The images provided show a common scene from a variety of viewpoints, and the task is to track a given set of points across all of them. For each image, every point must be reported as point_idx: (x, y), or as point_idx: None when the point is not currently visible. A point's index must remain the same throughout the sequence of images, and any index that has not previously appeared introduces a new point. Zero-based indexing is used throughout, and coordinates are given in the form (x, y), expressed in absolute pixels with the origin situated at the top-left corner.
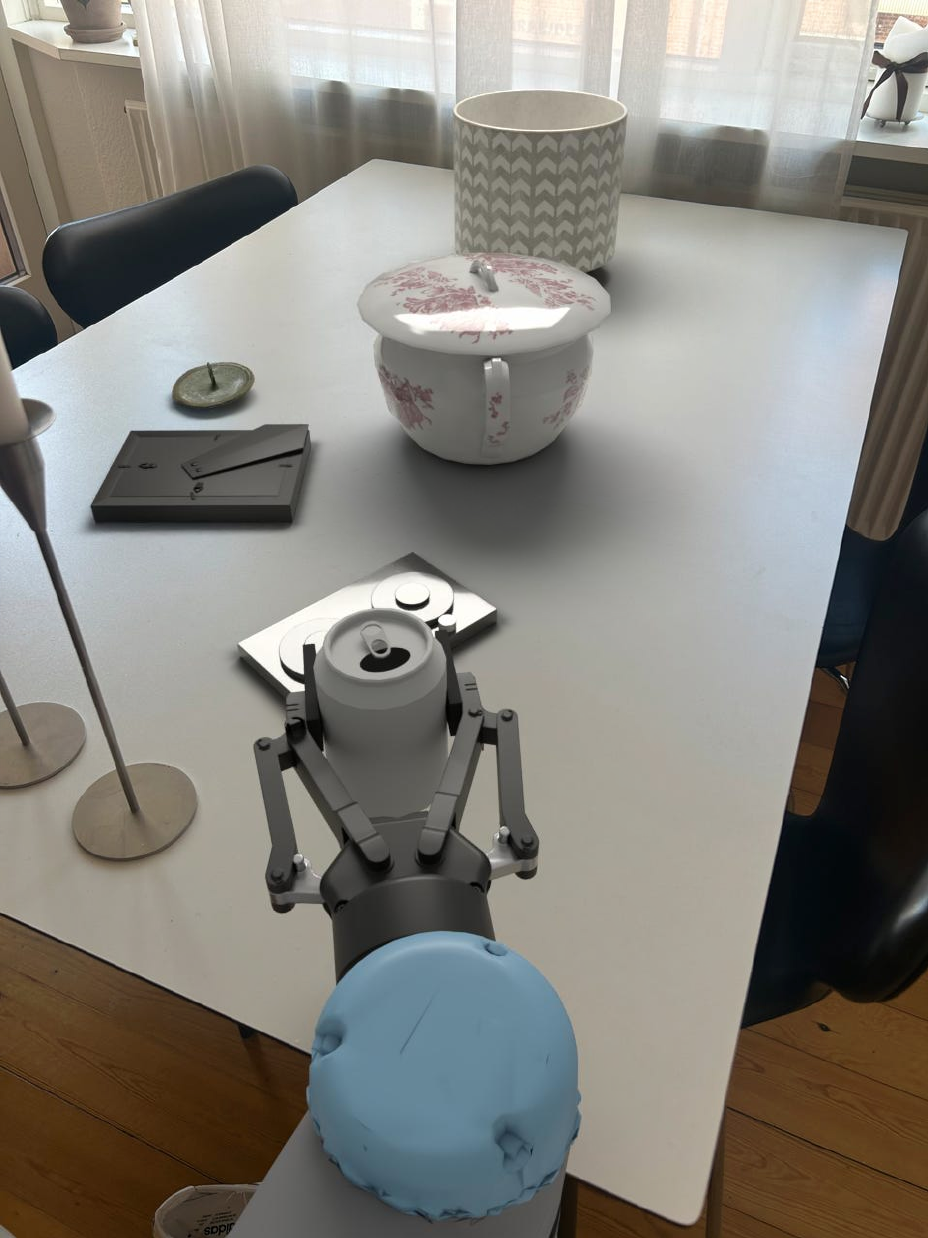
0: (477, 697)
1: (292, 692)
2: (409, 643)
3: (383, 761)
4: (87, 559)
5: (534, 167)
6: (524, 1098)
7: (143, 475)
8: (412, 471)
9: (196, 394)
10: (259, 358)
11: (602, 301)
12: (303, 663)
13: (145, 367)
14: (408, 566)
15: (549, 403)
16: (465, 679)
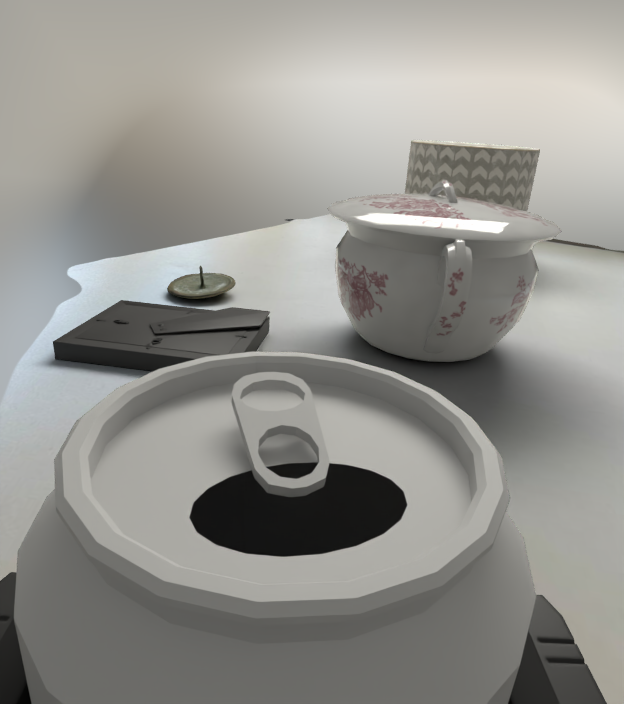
0: (598, 701)
1: None
2: (399, 460)
3: None
4: (28, 385)
5: (470, 173)
6: None
7: (113, 327)
8: (355, 359)
9: (186, 289)
10: (244, 279)
11: (552, 224)
12: None
13: (157, 274)
14: None
15: (499, 303)
16: (534, 618)
